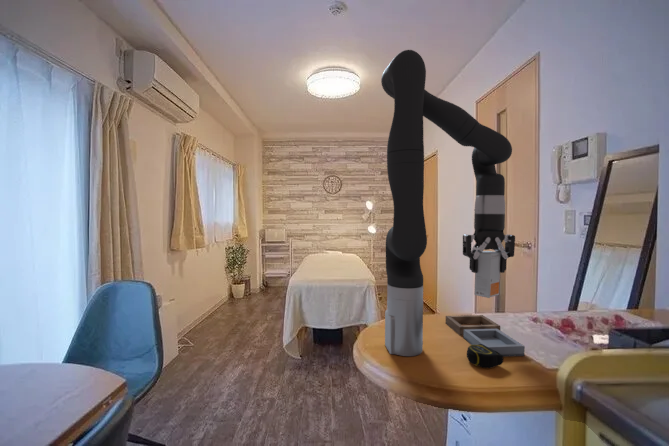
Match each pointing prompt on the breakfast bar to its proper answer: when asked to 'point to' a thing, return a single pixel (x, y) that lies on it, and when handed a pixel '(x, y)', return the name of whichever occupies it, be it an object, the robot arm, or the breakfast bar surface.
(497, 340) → the tray
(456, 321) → the brown rectangular frame
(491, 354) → the tape measure
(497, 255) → the skincare box
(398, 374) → the breakfast bar surface
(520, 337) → the breakfast bar surface
